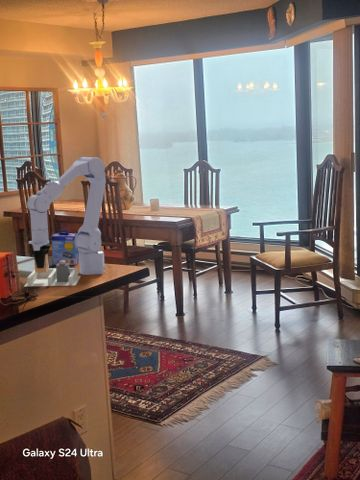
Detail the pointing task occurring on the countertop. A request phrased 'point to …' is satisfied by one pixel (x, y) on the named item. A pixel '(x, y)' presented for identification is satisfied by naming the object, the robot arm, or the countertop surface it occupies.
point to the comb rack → (51, 278)
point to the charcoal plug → (62, 271)
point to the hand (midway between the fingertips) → (41, 266)
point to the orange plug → (45, 269)
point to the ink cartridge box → (64, 248)
